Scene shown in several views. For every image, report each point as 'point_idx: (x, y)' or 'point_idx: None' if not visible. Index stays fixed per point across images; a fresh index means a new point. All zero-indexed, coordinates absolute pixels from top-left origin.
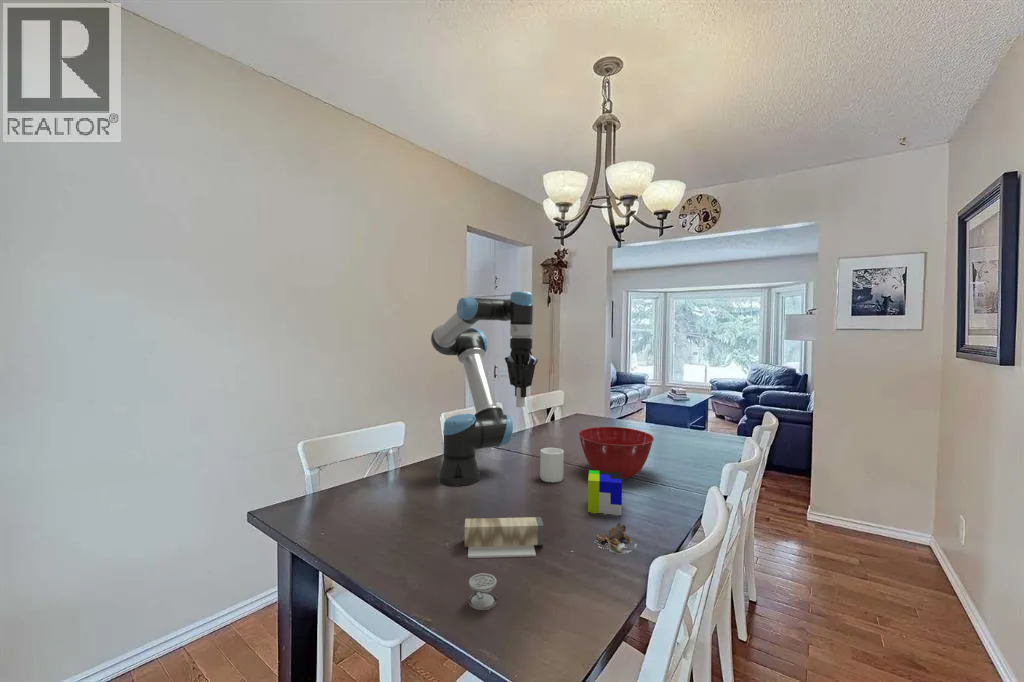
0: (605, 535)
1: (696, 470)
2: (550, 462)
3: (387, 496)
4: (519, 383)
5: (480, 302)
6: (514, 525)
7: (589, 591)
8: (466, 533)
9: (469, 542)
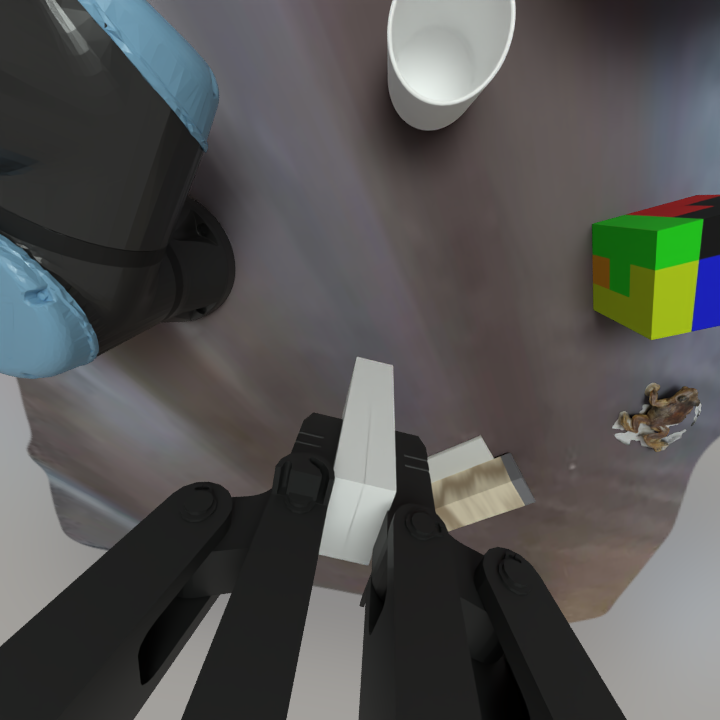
0: (641, 421)
1: None
2: (452, 112)
3: (146, 423)
4: (295, 539)
5: None
6: (483, 516)
7: (606, 536)
8: None
9: None
